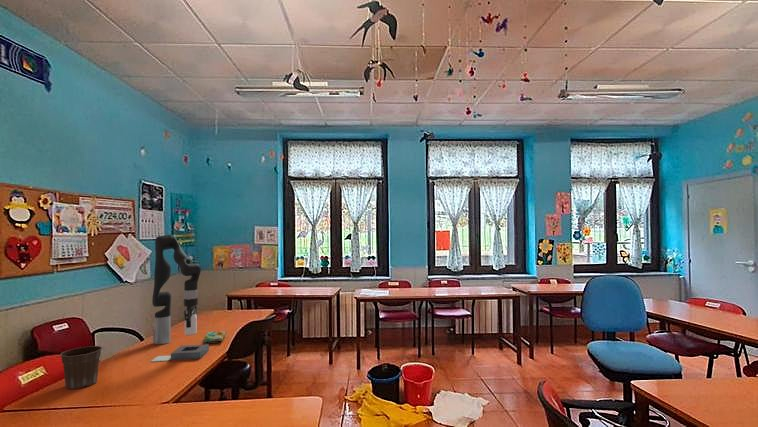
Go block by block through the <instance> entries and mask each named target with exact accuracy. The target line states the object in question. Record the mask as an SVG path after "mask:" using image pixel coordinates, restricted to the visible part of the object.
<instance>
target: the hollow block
mask: <svg viewBox="0 0 758 427" xmlns="http://www.w3.org/2000/svg"><path fill="white" fill-rule="evenodd" d="M209 351H210V343H208V344H206V343H205V344H189V345H188V344H186V345H185V344H184V345H180V346H179V347H177V349H175V350H174V351H172V352H171V353H170V356H171V359H170V361H172V362H174V361H175V362H176V361H188V360H189V361H190V360H191V361H192V360H201V359H202V358H203V357H204V356H205V355H206V354H207V353H208V352H209Z"/></svg>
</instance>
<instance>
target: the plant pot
mask: <svg viewBox="0 0 758 427" xmlns="http://www.w3.org/2000/svg"><path fill="white" fill-rule="evenodd" d="M102 350H103V347H102V346H98V345H89V346H82V347H76V348H72V349H69V350H65V351H62V352H61V353H60V354H59V356H60V357H61V364H62V366H63V374H64V382H65V388H66V389H67V390H78V389H83V388H85V387H90V386H92V385H94V384H96V383H97V382H98V376H99V364H100V357H101V355H102V353H101V352H102Z"/></svg>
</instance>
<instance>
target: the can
mask: <svg viewBox="0 0 758 427" xmlns="http://www.w3.org/2000/svg"><path fill="white" fill-rule="evenodd" d="M190 315H191V314H190ZM197 318H198V316H197V315H196V313H193V315H192V317H191V327H189V328H187V327H186V321H185V320H184V335H185V336H193V335H196V334H197V332H198V329H197V328H198V326H197V325H198V319H197Z"/></svg>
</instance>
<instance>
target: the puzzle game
mask: <svg viewBox="0 0 758 427" xmlns="http://www.w3.org/2000/svg"><path fill="white" fill-rule="evenodd" d="M226 334H227V330H221V331H220V330H219V331H208V332H207V334H206V335H205V336H204V337H203V338H202V343H205V344H219V343H222V342H223V340H224V338H225V337H226Z"/></svg>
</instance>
